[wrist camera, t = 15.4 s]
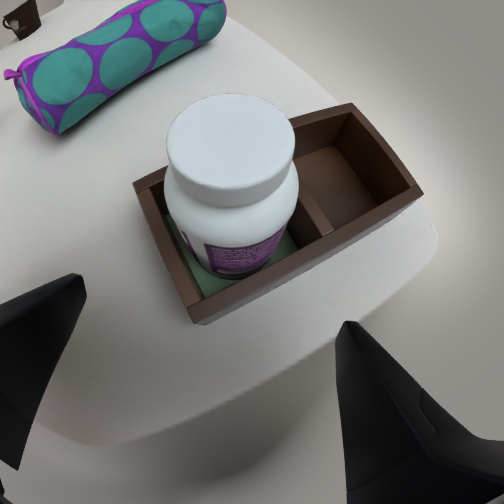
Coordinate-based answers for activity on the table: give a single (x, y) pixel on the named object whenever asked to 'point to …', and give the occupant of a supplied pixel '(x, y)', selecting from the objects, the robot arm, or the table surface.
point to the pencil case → (111, 57)
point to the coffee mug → (23, 19)
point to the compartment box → (296, 210)
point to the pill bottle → (231, 181)
